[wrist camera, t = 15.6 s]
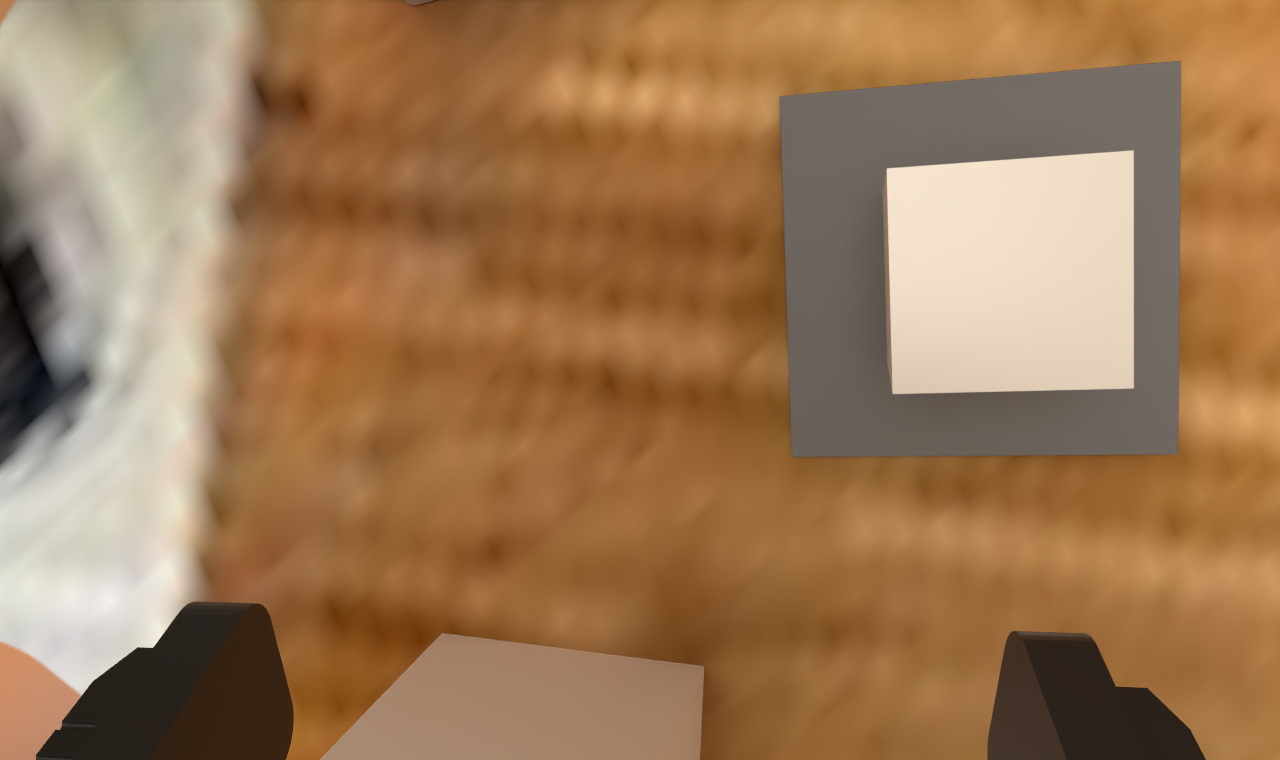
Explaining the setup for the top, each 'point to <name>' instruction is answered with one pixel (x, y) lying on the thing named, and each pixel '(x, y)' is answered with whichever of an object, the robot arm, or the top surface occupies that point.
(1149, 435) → the mat
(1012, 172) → the white rectangular block
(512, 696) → the milk
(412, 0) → the coffee box
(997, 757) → the robot arm
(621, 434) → the top surface
